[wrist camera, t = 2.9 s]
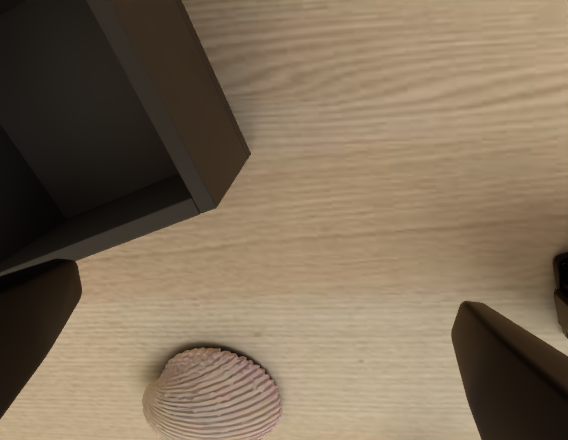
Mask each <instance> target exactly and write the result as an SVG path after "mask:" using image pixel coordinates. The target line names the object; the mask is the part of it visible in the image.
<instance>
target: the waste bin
mask: <svg viewBox="0 0 568 440" xmlns="http://www.w3.org/2000/svg"><path fill="white" fill-rule="evenodd" d="M250 155H251V153H250V151H249V149H248V147H247V145H246V142H245V140H244V138H243V136H242V133H241V131H240V129H239V127H238V125H237V122H236V120H235V118H234V116H233V114H232V111H231V109H230V107H229V105H228V102H227V100H226V98H225V96H224V94H223V91H222V89H221V87H220V85H219V83H218V80H217V78H216V76H215V74H214V71H213V69H212V67H211V65H210V63H209V60H208V58H207V56H206V54H205V52H204V49H203V47H202V45H201V43H200V40H199V38H198V36H197V34H196V32H195V29H194V27H193V25H192V23H191V21H190V18H189V16H188V14H187V12H186V9H185V7H184V5H183V3H182V1H181V0H0V276H2V275H5V274H8V273H12V272H15V271H18V270H21V269H24V268H27V267H30V266H34V265H37V264H40V263H43V262H46V261H49V260H52V259H57V258H60V259H69V260H74V261H77V260H80V259H83V258H85V257H88V256H90V255H93V254H96V253H98V252H101V251H104V250H106V249H109V248H112V247H114V246H117V245H120V244H122V243H125V242H128V241H130V240H133V239H136V238H138V237H141V236H144V235H146V234H149V233H152V232H154V231H157V230H160V229H162V228H165V227H168V226H170V225H173V224H175V223H178V222H181V221H183V220H186V219H189V218H191V217H194V216H197V215H199V214H200V213H204V212H207V211H209V210H212V209H215V208H216V207H217V206H218V205H219V203H220V201H221V200H222V198H223V197H224V195H225V194H226V192H227V190H228V189H229V187H230V186H231V184H232V183H233V181H234V180H235V178H236V176H237V175H238V173H239V172H240V170H241V169H242V167H243V165H244V164H245V162H246V161H247V159H248V158H249V156H250Z"/></svg>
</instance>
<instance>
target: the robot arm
mask: <svg viewBox="0 0 568 440" xmlns="http://www.w3.org/2000/svg"><path fill="white" fill-rule="evenodd" d="M565 261H567V262H566V263H565V264H563V265H562V263H563V262H565ZM553 268H554V274H555V281H556V287H557V289H555V292H554V298H555V304H556V311H557V317H558V323H559V324H560V325H561V326H562V327H563V333H564V335H565V336H566V337H567V338H568V252H567V253H563V254H560V255H558V256H557V257H555V259H554V260H553ZM81 294H82V286H81V281H80V276H79V270H78V266H77V263H76V262H75V261H74V260H69V259H60V258H57V259H52V260H49V261H46V262H43V263H40V264H37V265H34V266H30V267H27V268H24V269H21V270H18V271H15V272H12V273H8V274H5V275H2V276H0V419H1V418H2V416H3V415H4V413H5V412H6V411H7V409H8V408H9V407H10V405H11V404H12V402H13V401H14V400H15V398H16V397H17V396H18V394H19V393H20V392H21V390H22V389H23V387H24V386H25V385H26V383H27V382H28V381H29V379H30V378H31V376H32V375H33V374H34V372H35V371H36V370H37V368H38V367H39V366H40V364H41V363H42V361H43V360H44V358H45V357H46V355H47V354H48V352H49V351H50V349H51V348H52V346H53V344H54V343H55V341H56V339H57V338H58V336H59V334H60V332H61V331H62V329H63V327H64V326H65V324H66V322H67V321H68V319H69V317H70V316H71V314H72V312H73V310H74V309H75V307H76V305H77V304H78V302H79V300H80V298H81ZM451 336H452V342H453V346H454V350H455V354H456V358H457V362H458V366H459V370H460V374H461V378H462V381H463V385H464V389H465V393H466V397H467V400H468V403H469V406H470V409H471V412H472V415H473V418H474V420H475V423H476V426H477V428H478V431H479V434H480V436H481V439H482V440H568V356H566V355H565V354H563V353H562V352H560V351H558V350H557V349H555V348H554V347H552V346H550V345H549V344H547V343H546V342H544V341H542V340H541V339H539V338H538V337H536V336H535V335H533V334H531V333H530V332H528V331H527V330H525V329H523V328H522V327H520V326H519V325H517V324H515V323H514V322H512V321H511V320H509V319H508V318H506V317H504V316H503V315H501V314H500V313H498V312H496V311H495V310H493V309H492V308H490V307H488V306H487V305H485V304H483V303H480V302H471V301H464V302H462V303H461V305H460V307H459V310H458V313H457V316H456V319H455V322H454V325H453V328H452V333H451Z"/></svg>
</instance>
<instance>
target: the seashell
mask: <svg viewBox="0 0 568 440" xmlns="http://www.w3.org/2000/svg"><path fill="white" fill-rule="evenodd" d="M246 358H247V357H244V356H242V357H239V358H238V356H237V355H236V353H231V351H230V352H229V351H223V352H221V350H220V348H218V349H212V348H208V349H205V348H204V347H203V348H200V349H196V348H195V349H192V350H190V351H189V350H186V351H184V352H183V353H181V354H177V355H176V356H175V357H174V358H172V359H170V360H169V361H168V364H166V365H165V366H166V368H164V371H162V374H161V376H160V377H159V379H158V380H157V381H155V382H153V383H151V384H149V385H148V386H147V388H146V390H145V391H144V395H143V399H142V404H143V413H144V416H145V418H146V420H147V423H148V424H149V426H150V427H151V429H152V430H153V431H154V432H155V434H156V435H157V436H158V437H159V438H160V439H161V440H260V439H261V438H263V437H264V436H266V435H267V434H268V433H270V432H271V430H272V429H273V428H274V427H275V425H277V424H278V421H279V418H280V417H281V412H282V409H281V408H280V407H281V406H282V404H281V403H280V400H281V398H280V396H279V395H278V392H279V389H278V387H277V386H276V385H274V380H272V379H269V376H270V375H267V374H265V369H263V368H262V369H260V365H253V363H254V362H253V361H252V360H248V361H246Z"/></svg>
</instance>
